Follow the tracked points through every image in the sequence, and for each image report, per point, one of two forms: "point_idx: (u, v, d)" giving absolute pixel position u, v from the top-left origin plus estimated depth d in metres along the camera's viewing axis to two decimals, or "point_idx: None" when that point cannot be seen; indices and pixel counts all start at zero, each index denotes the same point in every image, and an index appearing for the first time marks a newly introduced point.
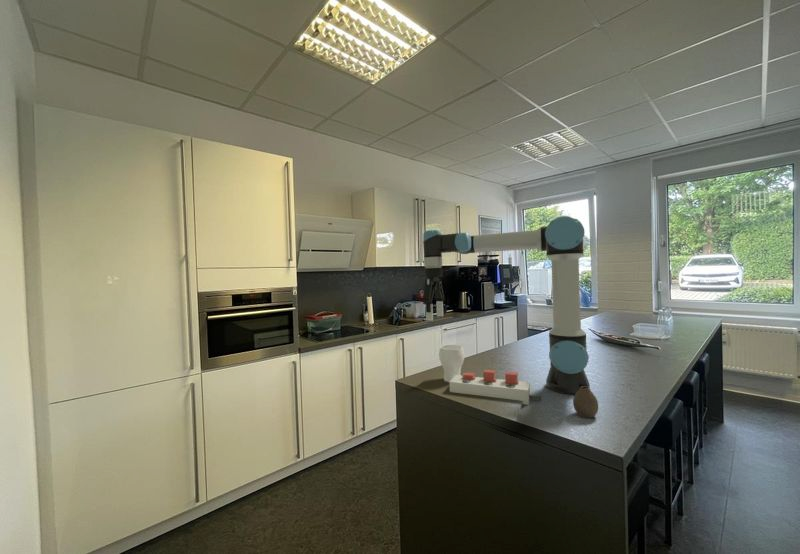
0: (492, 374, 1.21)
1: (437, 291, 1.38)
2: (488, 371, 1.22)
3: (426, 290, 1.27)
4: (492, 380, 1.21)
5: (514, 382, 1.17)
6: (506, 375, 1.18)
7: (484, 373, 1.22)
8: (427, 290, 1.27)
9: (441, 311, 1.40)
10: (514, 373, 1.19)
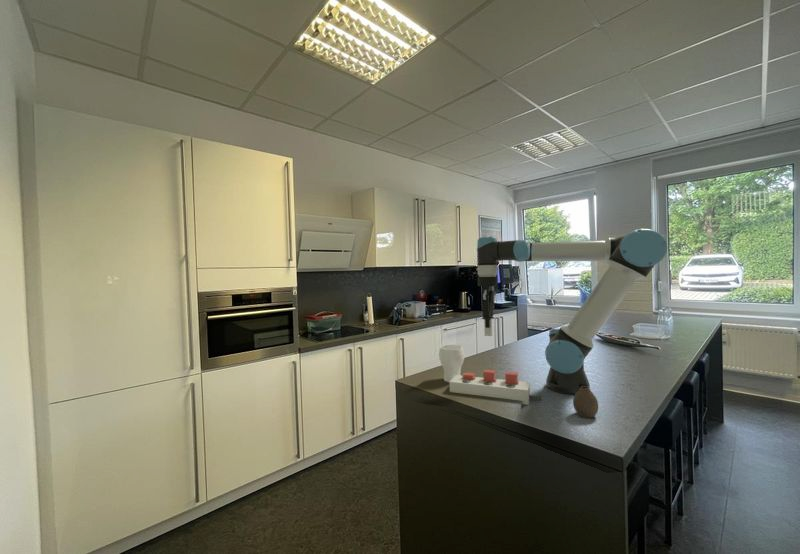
0: (492, 374, 1.21)
1: None
2: (488, 371, 1.22)
3: (484, 306, 1.23)
4: (492, 380, 1.21)
5: (514, 382, 1.17)
6: (506, 375, 1.18)
7: (484, 373, 1.22)
8: (485, 306, 1.23)
9: None
10: (514, 373, 1.19)
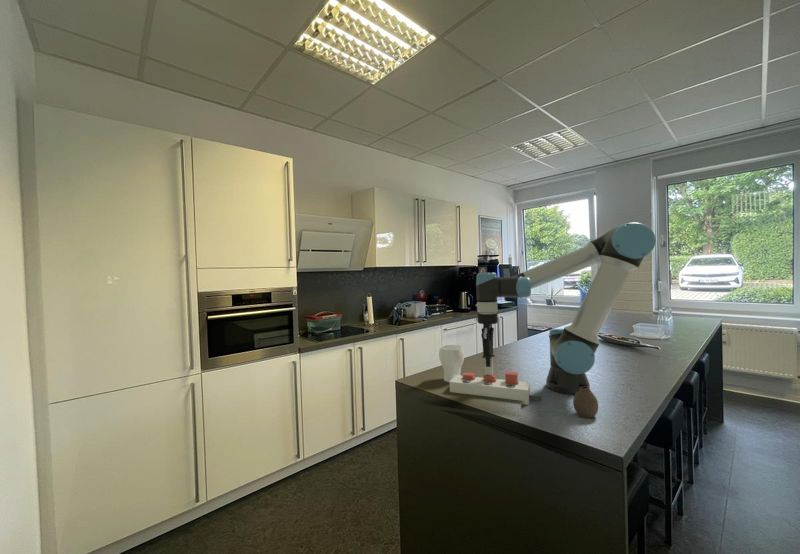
0: (492, 378, 1.21)
1: None
2: (488, 375, 1.22)
3: (484, 345, 1.18)
4: None
5: (514, 382, 1.17)
6: (506, 375, 1.18)
7: (484, 377, 1.22)
8: (486, 345, 1.18)
9: None
10: (514, 373, 1.19)
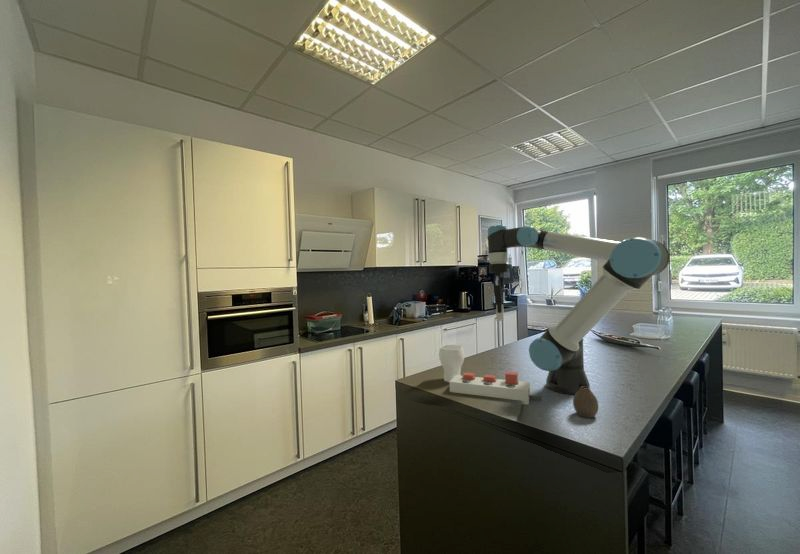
0: (492, 379, 1.21)
1: None
2: (488, 376, 1.22)
3: (496, 292, 1.28)
4: None
5: (514, 382, 1.17)
6: (506, 375, 1.18)
7: (484, 378, 1.22)
8: (497, 291, 1.28)
9: None
10: (514, 373, 1.19)
